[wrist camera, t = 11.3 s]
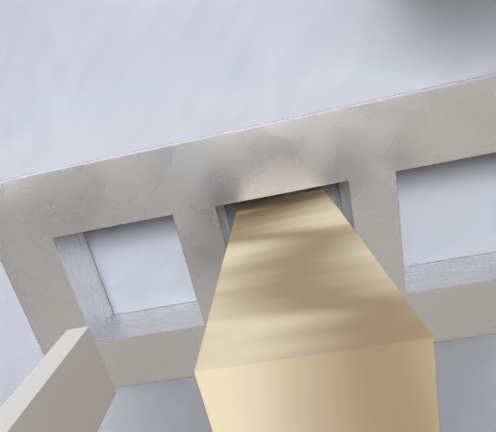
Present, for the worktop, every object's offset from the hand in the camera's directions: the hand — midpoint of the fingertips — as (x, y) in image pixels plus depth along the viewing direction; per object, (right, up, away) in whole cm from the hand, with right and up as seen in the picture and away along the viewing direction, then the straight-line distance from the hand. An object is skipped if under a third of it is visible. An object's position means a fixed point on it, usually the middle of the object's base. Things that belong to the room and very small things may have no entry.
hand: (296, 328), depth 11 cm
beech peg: (+1, +2, +8) cm, 8 cm away
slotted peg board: (+1, +3, +8) cm, 8 cm away
